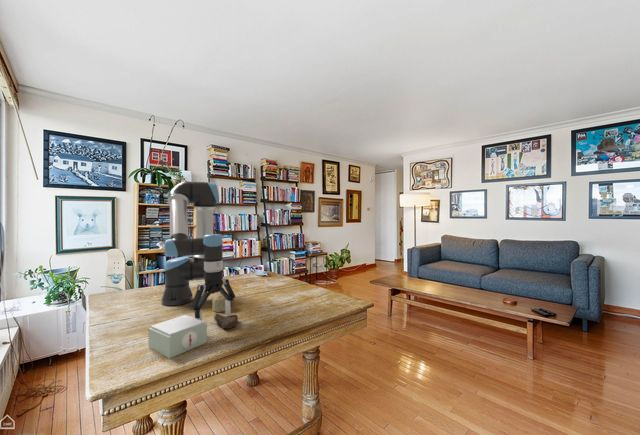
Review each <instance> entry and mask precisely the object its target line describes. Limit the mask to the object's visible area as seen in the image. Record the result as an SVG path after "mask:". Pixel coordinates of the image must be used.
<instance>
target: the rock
mask: <svg viewBox="0 0 640 435" xmlns="http://www.w3.org/2000/svg"><path fill="white" fill-rule="evenodd" d="M238 317H239V316H238V315H237V314H231V316H227V315H222V314H219V313H215V315H214V316H213V319H214V321H215V322H217V323H218V324H219V325H220V326H221V328H222V329H227V330H228V329H232V328H235V327H236V326H237V325H238V322H239V318H238Z"/></svg>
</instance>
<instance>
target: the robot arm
mask: <svg viewBox="0 0 640 435" xmlns="http://www.w3.org/2000/svg"><path fill="white" fill-rule="evenodd" d="M167 204H168V206H169V238H168V239H165V240H164V256H165V257H171V259H168V260H167V261H165V264H164V290H163V293H162V296H161V301H160V302H161V305H163V306H178V305H184V304H187V303H190V302H191V304H190V307H189V310H191V311H194V318H196V319H198V320H201V321H203V309H202V307H203V306H204V305H205V303H206V301H207V299H208V298H209V296H211V295H212V294H215V293H221V294H222V295H223V296H224V297H225V298H226V299H227V300H225V311H224V313H225V315H224V316H231V315H232V313H231V312H232V311H231V310H232V306H233V304H232V302H233V301H234V299H235V298H236V294H235V292H234V291H233V288H232V286H231V285H230V280H229V278H224V270H223V269H224V261H223V260H224V258H223V253H224V252H223V245H224V244H223V243H224V240H223V236H222V234H220V233H219V234H217V233H214V210H215V209H216V208H217V205H219V204H220V194H219V189H218V186H217V184H216V183H215V182H207V181H206V182H205V181H189V180H188V181H187V180H186V181H181V182H180V183H177V184H176V185H175V186H173V187H172V189H170V191H169V193H168V195H167ZM189 204H193V206H192V207H193V208H194V209H195V210H196V238H189V222H188V205H189ZM189 256H193V258H190V257H189ZM173 257H174V258H173ZM199 280H201V281H202V280H204V284H197V290H196V293H195V295H193V292H192V288H191V287H190V282H191V281H199ZM223 286H224V287H223Z"/></svg>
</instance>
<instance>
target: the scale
mask: <svg viewBox="0 0 640 435" xmlns="http://www.w3.org/2000/svg"><path fill="white" fill-rule="evenodd" d="M207 325H208V324H207V323H206V321H204V320H202V321H201V320H198V319H196V318H195V317H192V316H189V315H187V314H184V315H181V316H178V317H174V318H171V319H167V320H164V321H162V322H158V323H155V324H152V325H150V327H148V348H150V349H152V350H154V351H156V352H157V353H159V354H161V355H162V356H164V357H166V358H168V359H172V358H174V357H176V356H179V355H182V354H183V353H186V352H188V351H190V350H192V349H194V348H197V347H199V346H201V345H204V344H206V343H207V342H208V326H207Z"/></svg>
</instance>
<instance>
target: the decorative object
mask: <svg viewBox="0 0 640 435" xmlns="http://www.w3.org/2000/svg"><path fill="white" fill-rule="evenodd" d="M225 300H227V299H226V298H225V297H224V296H223V295H222V294H221V293H220V292H218V293H217V294H214V296H213V297H212V306H211V308H212V312H215V313H216V312H218V313H221V312H222V313H223V312H225Z"/></svg>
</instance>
